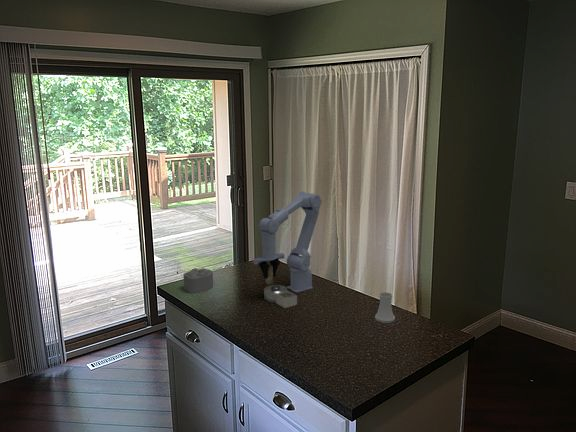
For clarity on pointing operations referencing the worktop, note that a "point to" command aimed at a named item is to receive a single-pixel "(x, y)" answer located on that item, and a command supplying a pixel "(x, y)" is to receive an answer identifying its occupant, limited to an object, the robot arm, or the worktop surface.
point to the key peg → (270, 275)
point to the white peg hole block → (280, 296)
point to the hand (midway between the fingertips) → (269, 277)
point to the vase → (385, 309)
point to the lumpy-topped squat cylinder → (198, 280)
